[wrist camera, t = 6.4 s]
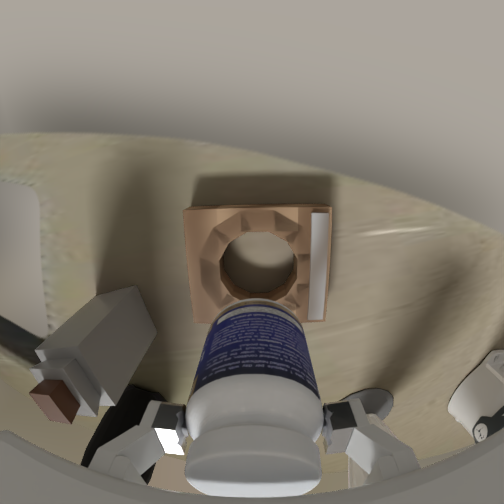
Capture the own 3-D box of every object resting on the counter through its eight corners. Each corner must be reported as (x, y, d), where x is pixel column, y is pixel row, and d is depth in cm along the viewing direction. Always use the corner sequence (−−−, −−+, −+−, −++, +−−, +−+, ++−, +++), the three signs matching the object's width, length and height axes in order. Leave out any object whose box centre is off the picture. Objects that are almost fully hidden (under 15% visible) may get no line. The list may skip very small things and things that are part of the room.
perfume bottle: (157, 332, 33) (97, 440, 16) (117, 339, 34) (50, 431, 16) (136, 285, 31) (49, 377, 14) (96, 295, 32) (9, 375, 15)
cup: (311, 421, 37) (329, 541, 16) (367, 377, 34) (418, 502, 14) (354, 439, 39) (381, 537, 18) (405, 401, 36) (453, 499, 15)
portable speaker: (183, 413, 37) (154, 518, 18) (141, 421, 39) (105, 510, 20) (150, 375, 35) (99, 485, 16) (109, 387, 37) (57, 477, 18)
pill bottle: (193, 313, 16) (134, 450, 6) (285, 280, 15) (317, 421, 6) (232, 382, 17) (217, 513, 8) (314, 356, 17) (349, 491, 7)
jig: (324, 203, 28) (333, 207, 25) (319, 308, 31) (325, 323, 28) (190, 206, 29) (181, 210, 25) (199, 310, 32) (193, 325, 29)
